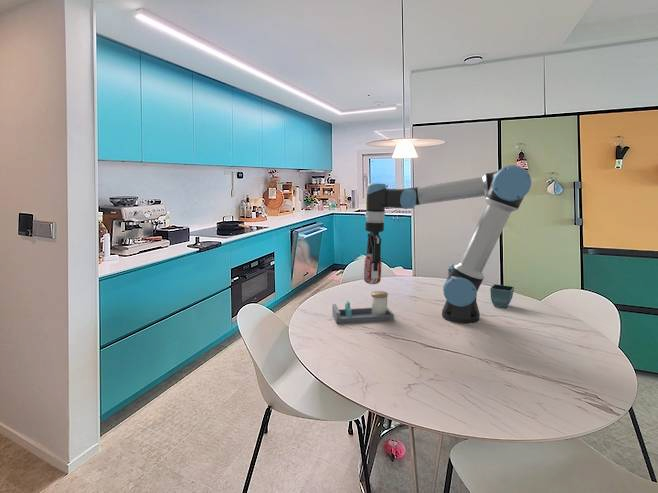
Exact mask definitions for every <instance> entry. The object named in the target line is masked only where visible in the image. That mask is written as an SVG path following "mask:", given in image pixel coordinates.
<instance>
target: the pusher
mask: <svg viewBox="0 0 658 493" xmlns="http://www.w3.org/2000/svg"><path fill="white" fill-rule="evenodd" d="M344 304H345V305H344V306H345V307H344V309H345V314H346V316H347V317H352V310H351V309H352V308H351V303H350V300H346V303H344Z"/></svg>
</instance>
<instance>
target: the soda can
mask: <svg viewBox="0 0 658 493" xmlns="http://www.w3.org/2000/svg"><path fill="white" fill-rule="evenodd" d="M376 260H377V259H376ZM380 261H381V262H380V263H379V268H378V279H371V270H372V263H371V262H373V258H372V254H367V253H366V256H365V259H364V265H363V266H364V269H363V270H364V271H363V279H364V280H363V281H364V282H365V283H366V284H368V285H377V284H379V283H380V282H381V280H382V257H380Z"/></svg>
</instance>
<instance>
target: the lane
mask: <svg viewBox="0 0 658 493" xmlns="http://www.w3.org/2000/svg"><path fill="white" fill-rule="evenodd" d="M331 309H332V310H331V311H332V316H333V318H334V321H335V324H337V325H339V324H352V323H353V324H355V323H370V322H372V323H373V322H387V321H395V314H394V313H393V312H392V311H391V310H390V308H389V307H388V306H387V315H379V316H372V307H360V308H359V307H358V308H357V307H356V308H351V310H352V317H347V316H346V314H345V308H341V309H339V307H338V306H337V303H332V308H331Z"/></svg>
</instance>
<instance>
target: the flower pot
mask: <svg viewBox="0 0 658 493" xmlns="http://www.w3.org/2000/svg"><path fill="white" fill-rule="evenodd" d="M489 291H490V292H489V293H490V300H491V304H493V307H496V306H499V307H498V308H502V307H504V309H507V307H508V306H509V305H510V303H511V301H512V299H513V297H514V291H515V286H512V285H511V286H510V285H504V284H495V283H494V284H493V285H492V286H491V287H490V290H489Z"/></svg>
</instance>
